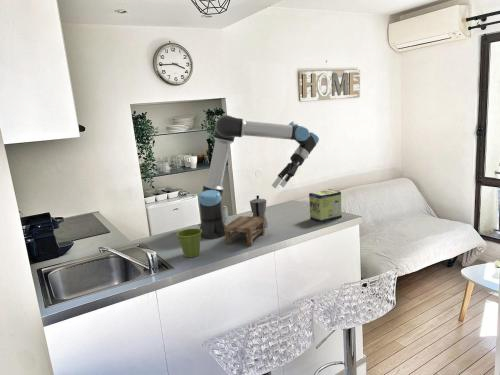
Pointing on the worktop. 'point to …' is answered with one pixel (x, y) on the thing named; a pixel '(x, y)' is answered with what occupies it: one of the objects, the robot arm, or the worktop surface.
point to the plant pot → (190, 241)
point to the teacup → (224, 213)
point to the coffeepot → (259, 209)
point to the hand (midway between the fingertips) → (277, 186)
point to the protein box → (325, 205)
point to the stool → (244, 228)
